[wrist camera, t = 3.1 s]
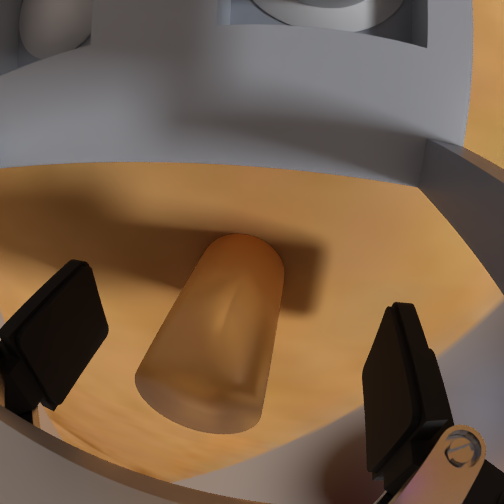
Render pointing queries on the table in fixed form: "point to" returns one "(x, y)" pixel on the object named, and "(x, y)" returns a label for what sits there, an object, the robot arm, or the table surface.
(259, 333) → the tan capsule cylinder
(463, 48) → the housing
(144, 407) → the table surface
